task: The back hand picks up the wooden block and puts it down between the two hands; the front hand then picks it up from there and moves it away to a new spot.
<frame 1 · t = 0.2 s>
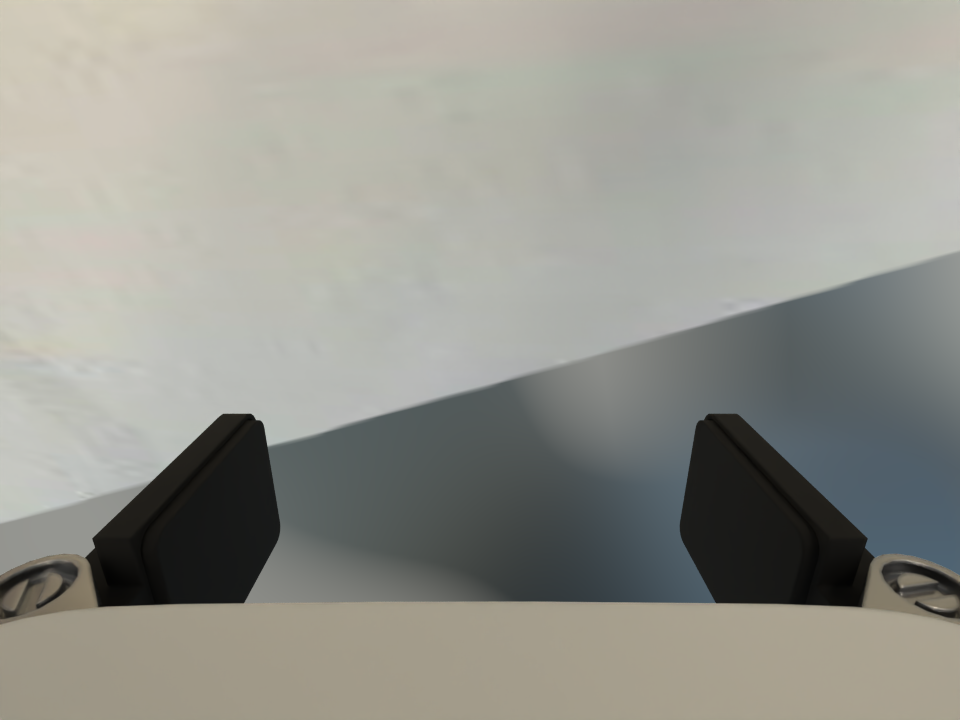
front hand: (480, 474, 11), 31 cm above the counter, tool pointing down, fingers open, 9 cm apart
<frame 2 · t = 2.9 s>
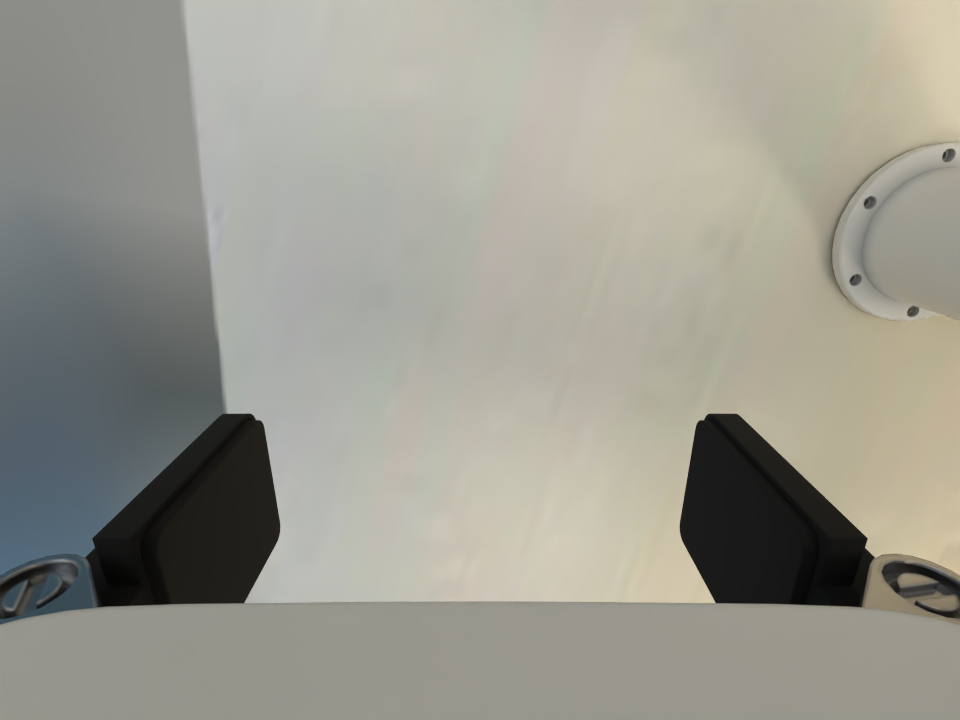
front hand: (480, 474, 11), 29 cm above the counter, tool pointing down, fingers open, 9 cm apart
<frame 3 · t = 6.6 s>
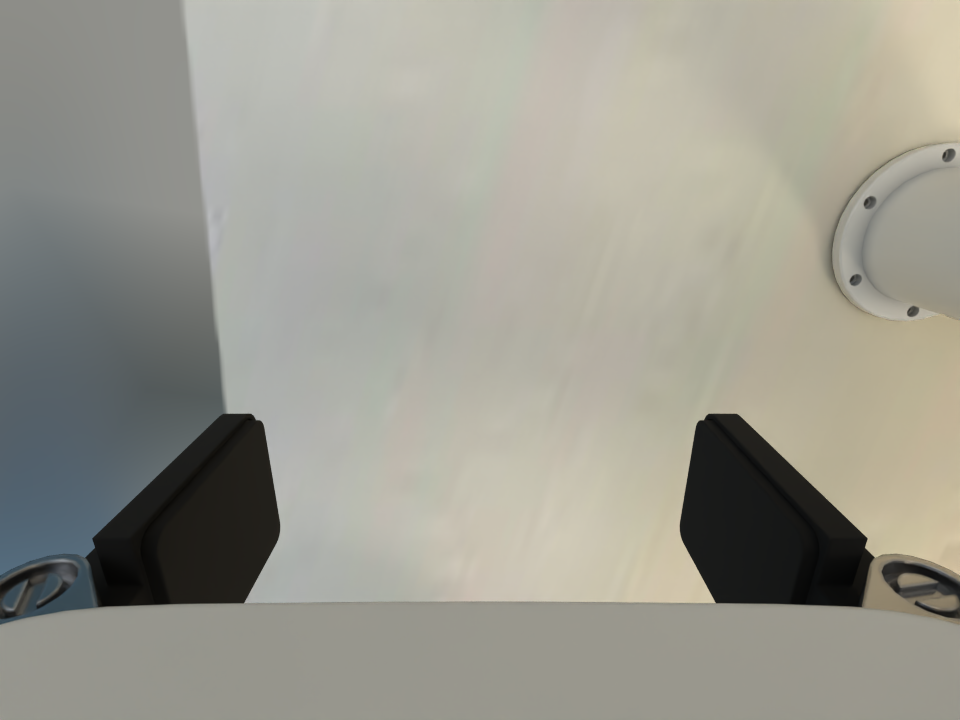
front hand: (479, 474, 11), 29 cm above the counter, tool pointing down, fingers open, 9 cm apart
when the back hand's fingers open (9 cm above the counter, at t = 9.6 s): block drops 2 cm, on the counter.
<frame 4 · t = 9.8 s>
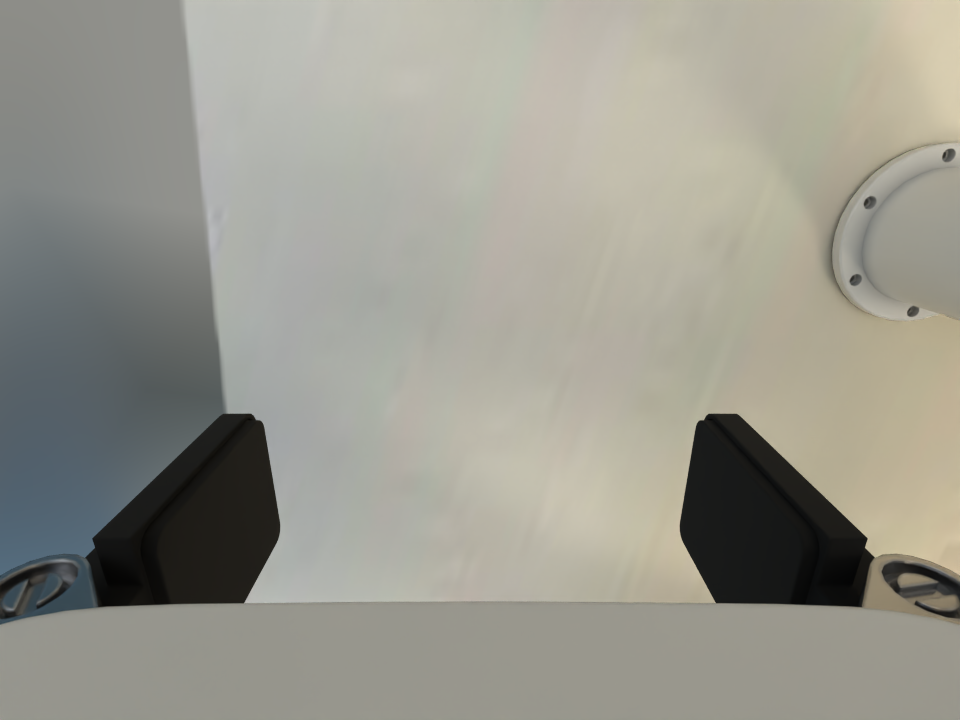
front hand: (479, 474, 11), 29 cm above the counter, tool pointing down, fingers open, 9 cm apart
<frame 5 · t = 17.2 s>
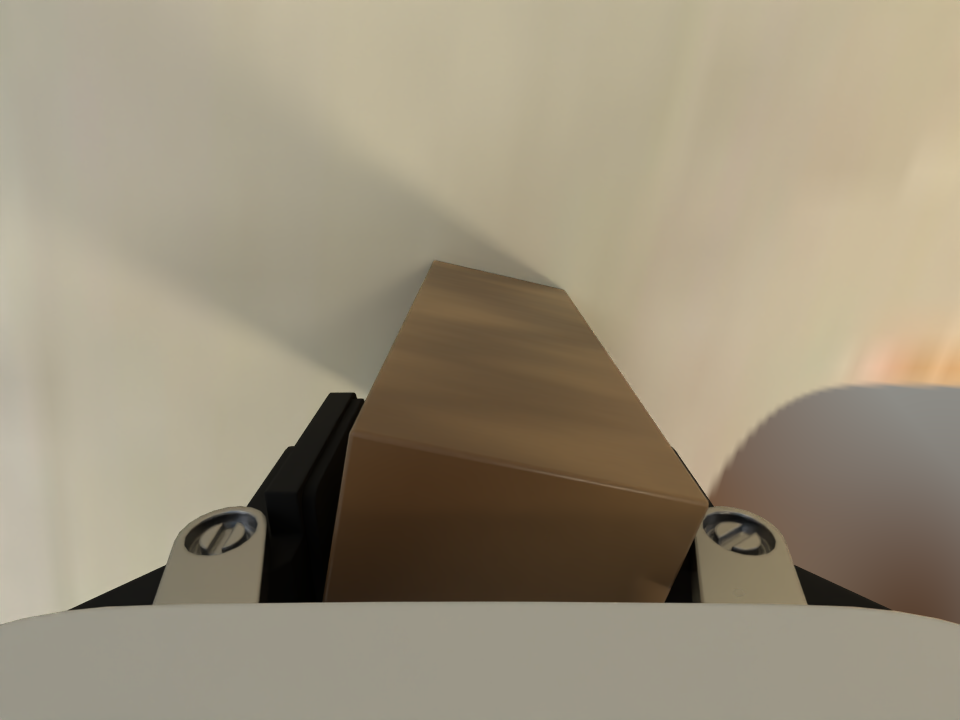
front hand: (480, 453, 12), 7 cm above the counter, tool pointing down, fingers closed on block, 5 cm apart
block: (480, 354, 18), on the counter, touching front hand
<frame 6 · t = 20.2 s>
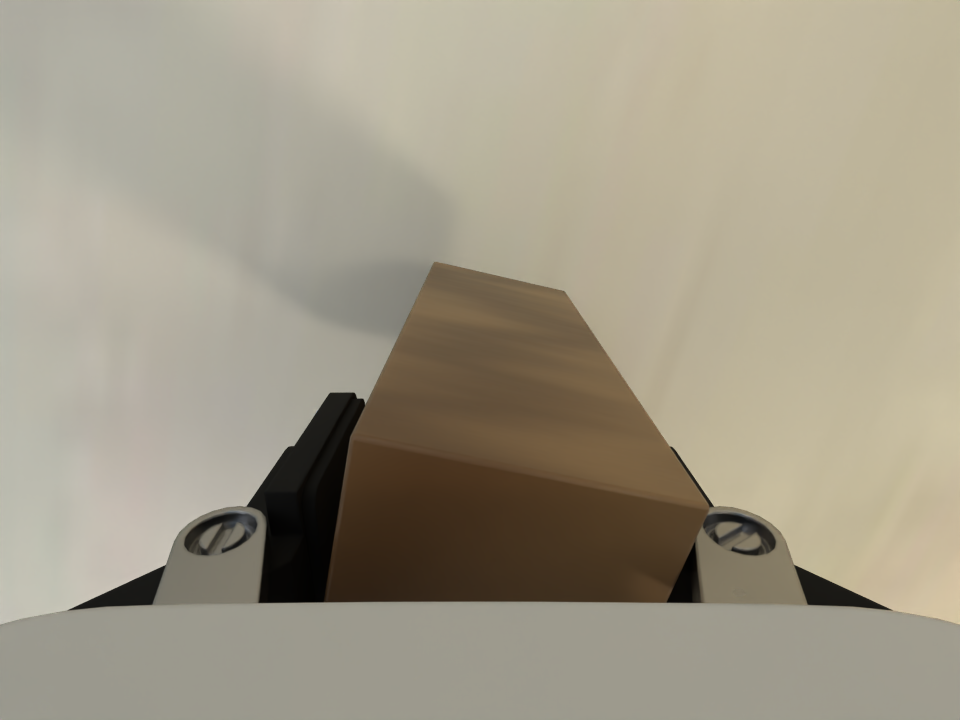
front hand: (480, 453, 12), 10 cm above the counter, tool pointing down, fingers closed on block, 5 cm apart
block: (480, 355, 18), point 3 cm above the counter, touching front hand
when the front hand's fingers open (8 cm above the counter, at t = 23.5 s): block drops 2 cm, on the counter.
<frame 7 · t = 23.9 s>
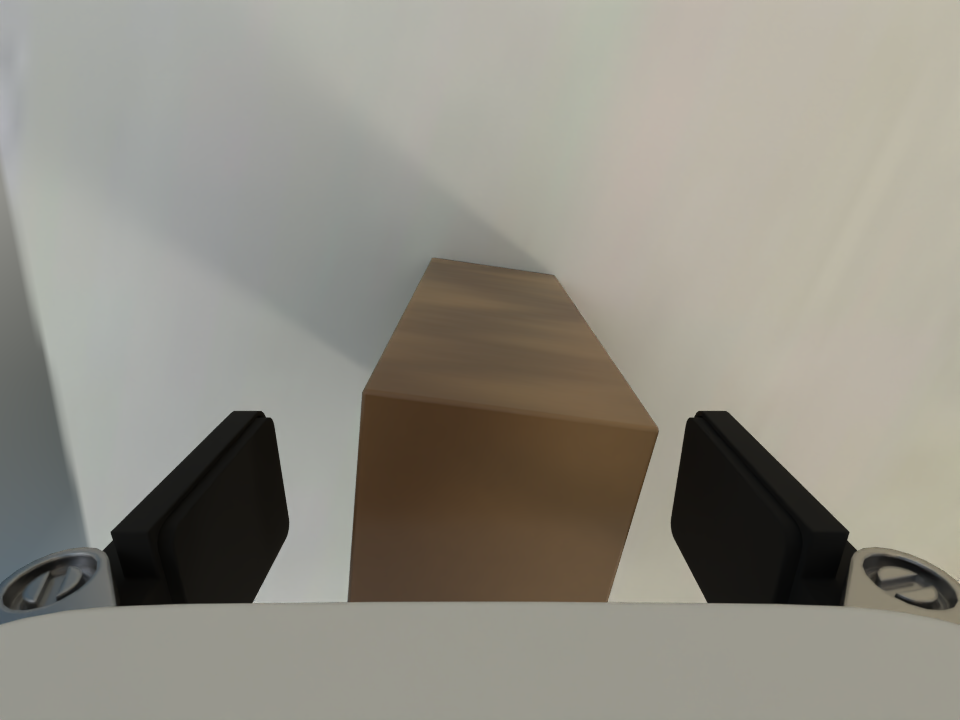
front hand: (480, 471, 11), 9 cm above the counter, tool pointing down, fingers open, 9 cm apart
block: (482, 341, 20), on the counter
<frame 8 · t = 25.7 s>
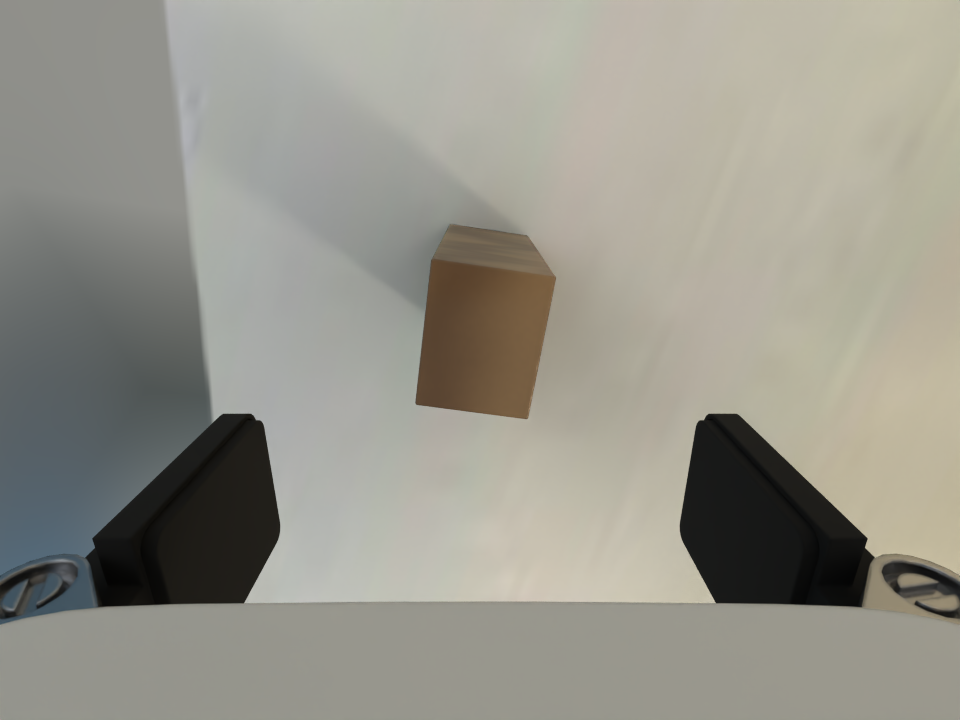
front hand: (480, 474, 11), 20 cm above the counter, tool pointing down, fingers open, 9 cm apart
block: (481, 279, 30), on the counter
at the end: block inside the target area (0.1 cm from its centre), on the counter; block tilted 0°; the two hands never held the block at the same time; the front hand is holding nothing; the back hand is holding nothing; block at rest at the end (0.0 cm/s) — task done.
